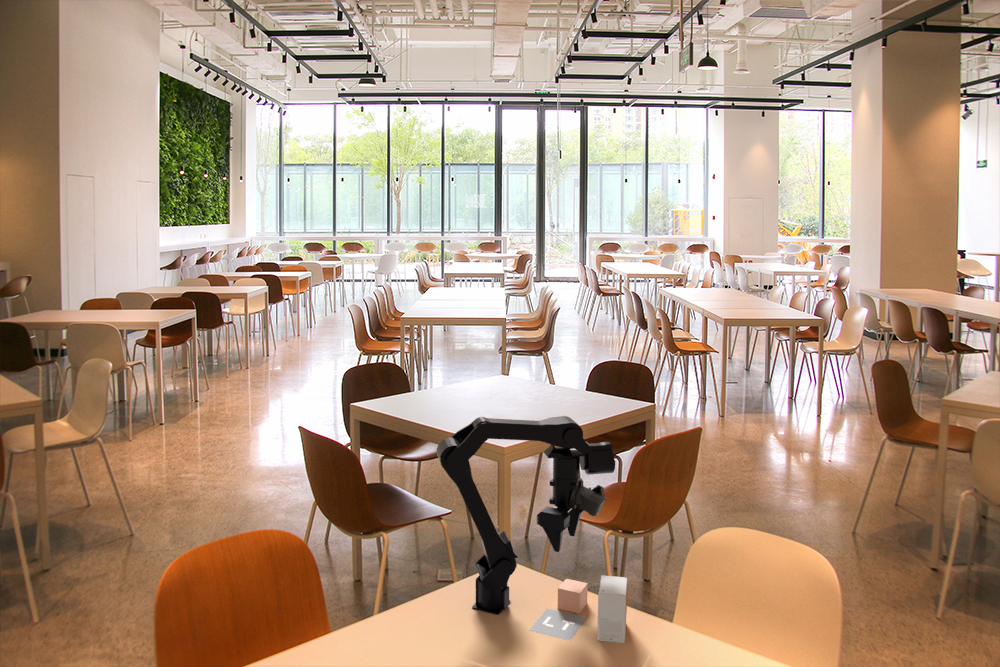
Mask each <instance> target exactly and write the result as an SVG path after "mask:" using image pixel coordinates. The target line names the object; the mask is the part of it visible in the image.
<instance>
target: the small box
mask: <svg viewBox="0 0 1000 667" xmlns="http://www.w3.org/2000/svg"><path fill="white" fill-rule="evenodd" d="M628 580H629V579H628V577H624V576H613V575H603V574H601V575H600V582H599V589H598V592H597V593H598V594H597V595H598V596H597V597H598V599H597V600H598V601H597V637H596V638H597V641H602V642H608V643H609V642H610V643H617V644H625V643H626V631H627V611H628V610H627V608H628V606H627V605H628Z"/></svg>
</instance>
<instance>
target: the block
mask: <svg viewBox="0 0 1000 667" xmlns="http://www.w3.org/2000/svg"><path fill="white" fill-rule="evenodd" d="M588 584H589V583H588V582H584V581H579V580H574V579H570V578H565V579H564V581H563V582H562V583H561V584H560V585H559V586H558V588H557V609H559V610H563V611H567V612H571V613H575V614H581V612H582V611H583V609H584V608H585V607H586V606H587V604H588V588H589V586H588Z"/></svg>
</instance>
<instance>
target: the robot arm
mask: <svg viewBox="0 0 1000 667" xmlns="http://www.w3.org/2000/svg"><path fill="white" fill-rule="evenodd" d="M582 428H583V427H581V426H580V425H579V424H578V423H577V422H576V421H575V420H574V419H572V418H571V417H570V416H568V415H567V416H566V415H562V416H552V417H548V418H544V419H542V420H541V419H540V420H529V419H527V420H526V419H508V418H494V417H493V418H490V417H489V418H488V417H485V416H479V417H476V418H475V419H474V420H473V421H472V422H470V423H469V424H468V425H466V426H464V427H462V428H461V429H459V430H458V431H456V432H455V433H453V435H451V436H450V437H445V438H443V440H441V441H440V442H439V443H438V445H437V447H436V455H437V458H438V460H439V463H440V465H441V467H442V469H443V470H444V471H445V472H446V474H447V475H448V478H450V479H451V480H452V482H453V483H454V484H455V486H456V487H457V489H458V491H459V493H460V495H461V497H462V499H463V502H464V504H465V506H466V508H467V510H468V512H469V514H470V516H471V519H472V521H473V523H474V525H475V528H476V530H477V531H478V533H479V536H480V541H481V546H482V549H483V555H482V556H481V557H480V558H479V559H477V561H476V562H475V563H474V565H475V568H476V571H477V574H478V577H476V578H475V602H474V604H473V605H471V609H472V610H476V611H480V612H484V613H488V614H492V615H497V616H498V615H500V614H502V612H503V611H504V610H505V609H506V608H507V607H508V606H509V604H511V599H510V585H508V581H509V579H510V576H512V575H513V574H514V572H515V570H516V568H517V566H518V564H517V563H518V562H517V559H518V558H519V556H518V554H517V553H516V550H515V549H514V547H513V545H512V542H511V539H510V537H509V536H508V534H507V532H506V531H505V530H502V532H499V531H498V530H497V529H496V526H495V525H494V522H493V520H492V517H491V516H490V514H489V512H488V509H487V507H486V505H485V503H484V501H483V498H482V496H481V494H480V493H479V490H478V488H477V485H476V484H475V481H474V479H473V473H472V467H471V463H470V459H471V458H472V457H473V456H474V455H475V454H476V453H477V452H478V451H479V450H480V448H481V447H482V445H483V444H484V443H485V442H487V440H507V441H508V440H509V441H510V440H511V441H531V442H542V443H545V444H549V447H547V448H546V449H545V450H544V451H543V454H544V455H545V456H546V458H548V459H552V478H551V480H549V486H550V487H552V496H551V497H550V498H549V499H548V500H549V503H548V504H549V505H554V507H552V506H546V507H545V508H543V509H542V510H541V511H540V512H539V513H537V514H536V524H537V525H539V526H540V527H542V529H543V530H544V533H545V534H546V536H547V539H548V540H549V543H550V544H551V547H552V550H553V551H554V552H556V553H560V551H561V547H562V542H563V535H564V531H566V529H567V531H568V534H569V536H570V537H575V536H576V533H577V530H578V526H579V522H580V518H581V517H582V516H581V515H582V512H584V511H585V512H586V513H588V515H590V516H591V517H597V515H598V514H599V513H600V512H601V510H602V508H603V506H604V504H605V502H606V500H607V499H606V497H607V495H605V487H603V486H602V485H600V484H597V485H596V486H595V487H593V488H592V487H586V486H584V480H583V478H582V477H580V469H581V470H582V471H584V472H585V474H586V475H588V476H589V475H590V476H591V475H599V474H600V475H603V474H604V475H605V474H613V473H614V472H615V469H616V460H615V454H614V452H613V448H612V447H613V445H612V444H611V442H609V441H603V442H597V443H596V442H594V443H592V442H591V443H589V442H587V441H586V440H585V439H584V431H583V429H582Z"/></svg>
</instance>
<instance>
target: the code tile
mask: <svg viewBox="0 0 1000 667" xmlns="http://www.w3.org/2000/svg"><path fill="white" fill-rule="evenodd" d="M586 619H587V617H585V616H582V615H578V614H577V615H576V614H572V613H569V612H565V611H561V610H556V609H552V608H548V607H547V608H546V609H545V610H544V612H542V614H541V615H540V616H539V618H538V619H537V620H536V621H535V622H534V623H533V625H532V626H531V627H530V628H529V632H530V631H531V632H534V633H538V634H542V635H545V636H546V635H547V636H550V637H554V638H558V639H562V640H566V641H569V642H570V641H571V640H572V639H573V637H574V636H575V635H576V633H577V632H578V630H579V629H580V628H581V626H582V625H583V624H584V623H585V621H586Z"/></svg>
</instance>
